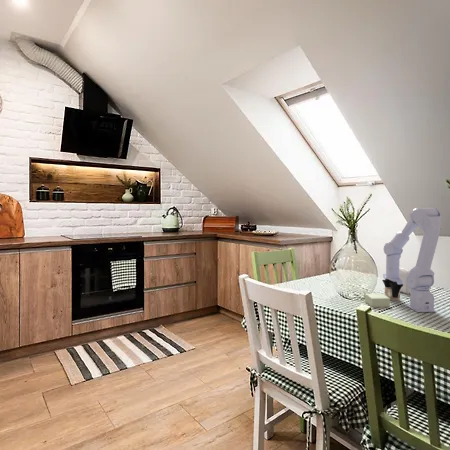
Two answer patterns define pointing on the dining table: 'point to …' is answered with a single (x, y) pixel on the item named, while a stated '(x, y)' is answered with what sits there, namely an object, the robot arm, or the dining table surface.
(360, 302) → the dining table surface
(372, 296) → the sage base block
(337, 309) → the dining table surface
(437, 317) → the dining table surface
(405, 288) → the photo printer
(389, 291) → the cream cube
